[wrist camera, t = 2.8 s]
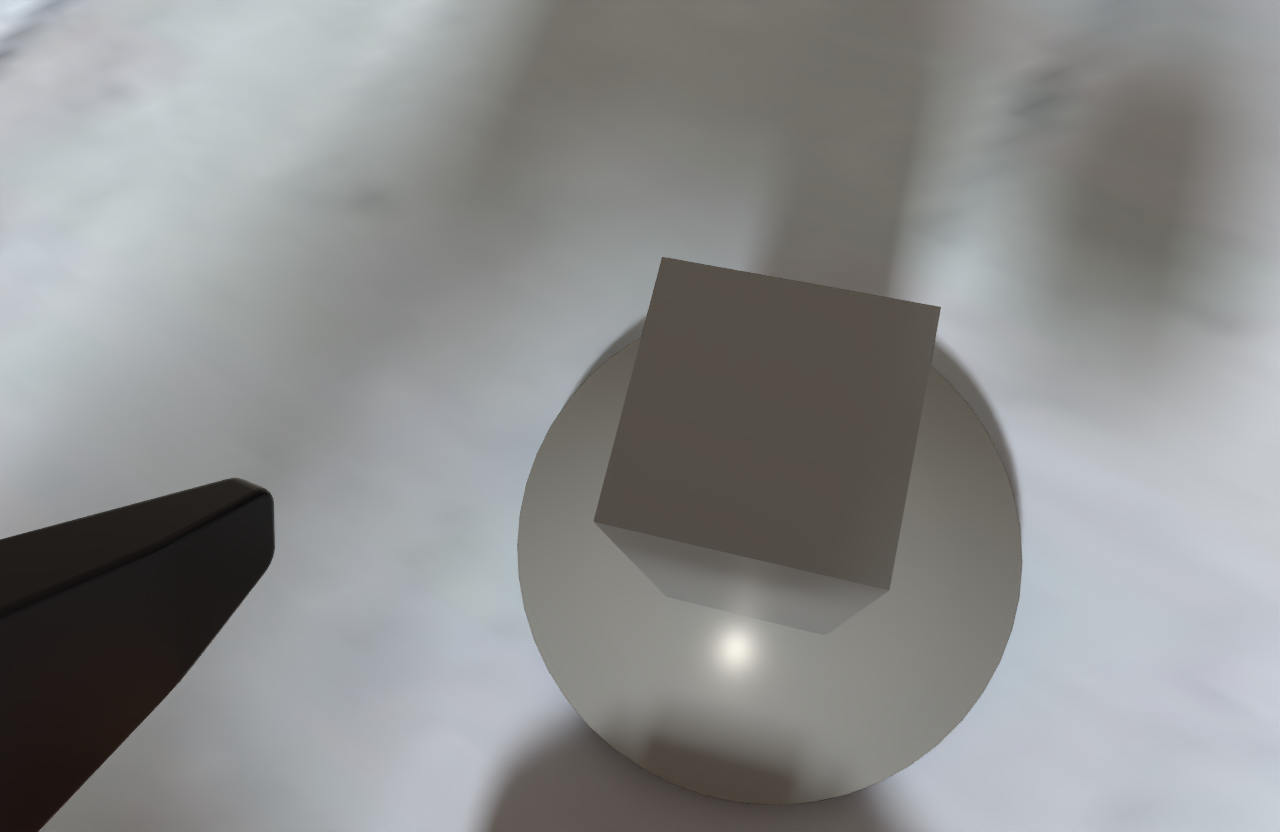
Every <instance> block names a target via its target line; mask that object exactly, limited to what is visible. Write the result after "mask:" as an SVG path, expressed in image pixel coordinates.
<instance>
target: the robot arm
mask: <svg viewBox="0 0 1280 832" xmlns="http://www.w3.org/2000/svg"><path fill="white" fill-rule="evenodd" d="M274 550H275V532H274V501H273V497H272V495H271V493H270V492H269V491H268V490H267V489H265V488H263V487H260V486H258V485H255V484H253V483H250V482H248V481H246V480H243V479H239V478H231V479H226V480H222V481H218V482H215V483H211V484H207V485H203V486H200V487H196V488H192V489H188V490H184V491H181V492H177V493H173V494H169V495H166V496H162V497H158V498H154V499H151V500H147V501H143V502H139V503H136V504H132V505H128V506H124V507H121V508H117V509H113V510H109V511H106V512H102V513H98V514H94V515H91V516H87V517H83V518H79V519H76V520H72V521H68V522H64V523H61V524H57V525H53V526H49V527H46V528H42V529H38V530H34V531H31V532H27V533H23V534H19V535H16V536H12V537H8V538H4V539H1V540H0V832H38V831H39V830H40V829H41V828H42V827H43V826H44V825H45V824H46V823H47V822H48V821H49V820H50V819H51V818H52V817H53V815H54V814H55V813H56V812H57V811H58V810H59V809H60V808H61V807H62V806H63V805H64V804H65V803H66V802H67V801H68V800H69V799H70V798H71V796H72V795H73V794H74V793H75V792H76V791H77V790H78V789H79V788H80V787H81V786H82V785H83V784H84V783H85V782H86V781H87V780H88V779H89V777H90V776H91V775H92V774H93V773H94V772H95V771H96V770H97V769H98V768H99V767H100V766H101V765H102V764H103V763H104V762H105V761H106V760H107V758H108V757H109V756H110V755H111V754H112V753H113V752H114V751H115V750H116V749H117V748H118V747H119V746H120V745H121V744H122V743H123V742H124V741H125V739H126V738H127V737H128V736H129V735H130V734H131V733H132V732H133V731H134V730H135V729H136V728H137V727H138V726H139V725H140V724H141V723H142V722H143V721H144V719H145V718H146V717H147V716H148V715H149V714H150V713H151V712H152V711H153V710H154V709H155V708H156V707H157V706H158V705H159V704H160V703H161V702H162V700H163V699H164V698H165V697H166V696H167V695H168V694H169V693H170V692H171V691H172V689H173V688H174V687H175V686H176V685H177V684H178V683H179V682H180V681H181V679H182V678H183V677H184V676H185V675H186V673H187V672H188V671H189V670H190V668H191V667H192V666H193V665H194V664H195V662H196V661H197V660H198V658H199V657H200V656H201V655H202V653H203V652H204V651H205V649H206V648H207V647H208V645H209V644H210V643H211V642H212V640H213V639H214V638H215V636H216V635H217V634H218V633H219V631H220V630H221V629H222V627H223V626H224V625H225V623H226V622H227V621H228V620H229V618H230V617H231V616H232V614H233V613H234V612H235V611H236V609H237V608H238V607H239V605H240V604H241V603H242V601H243V600H244V599H245V598H246V596H247V595H248V594H249V592H250V591H251V590H252V588H253V587H254V586H255V585H256V583H257V582H258V581H259V579H260V578H261V577H262V576H263V574H264V573H265V572H266V570H267V569H268V567H269V565H270V563H271V561H272V558H273V555H274Z"/></svg>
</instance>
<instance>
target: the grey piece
mask: <svg viewBox="0 0 1280 832" xmlns="http://www.w3.org/2000/svg"><path fill="white" fill-rule="evenodd" d="M940 309H941V307H937V306H932V305H926V304H921V303H915V302H909V301H904V300H898V299H893V298H887V297H882V296H876V295H871V294H865V293H860V292H854V291H848V290H843V289H837V288H832V287H826V286H821V285H815V284H810V283H804V282H798V281H793V280H787V279H782V278H776V277H771V276H765V275H760V274H754V273H749V272H743V271H737V270H732V269H726V268H721V267H715V266H710V265H704V264H699V263H693V262H687V261H682V260H676V259H671V258H665V257H662V260H661V264H660V267H659V271H658V275H657V279H656V283H655V287H654V290H653V294H652V298H651V302H650V306H649V310H648V313H647V317H646V321H645V325H644V329H643V333H642V337H641V338H639V339H637V340H636V341H634V342H632V343H631V344H630V345H628V346H627V347H625V348H624V349H622V350H621V351H620V352H618V353H617V354H615V355H614V356H612V357H611V358H610V359H608V360H607V361H606V362H605V363H604V364H603V365H602V366H601V367H600V368H598V369H597V370H596V371H595V372H594V373H593V374H592V375H591V376H590V377H588V378H587V379H586V381H585V382H584V383H583V384H582V385H581V386H580V387H579V389H578V390H577V391H576V392H575V393H574V394H573V396H572V397H571V398H570V399H569V400H568V401H567V403H566V404H565V406H564V407H563V409H562V410H561V412H560V413H559V415H558V416H557V418H556V419H555V421H554V422H553V424H552V425H551V427H550V429H549V431H548V433H547V435H546V437H545V439H544V441H543V443H542V445H541V447H540V449H539V451H538V453H537V455H536V458H535V461H534V463H533V466H532V469H531V472H530V475H529V478H528V481H527V483H526V488H525V493H524V497H523V502H522V507H521V511H520V519H519V532H518V544H517V549H518V570H519V581H520V587H521V592H522V598H523V604H524V609H525V613H526V616H527V619H528V622H529V625H530V628H531V632H532V635H533V638H534V641H535V643H536V645H537V647H538V650H539V652H540V654H541V656H542V658H543V660H544V662H545V665H546V667H547V669H548V671H549V673H550V674H551V676H552V677H553V679H554V680H555V682H556V684H557V685H558V687H559V688H560V690H561V691H562V693H563V695H564V696H565V698H566V699H567V700H568V702H569V703H570V704H571V705H572V706H573V708H574V709H575V710H576V711H577V712H578V714H579V715H580V716H581V717H582V718H583V720H584V721H585V722H586V723H587V724H588V725H589V726H590V727H591V728H592V729H593V730H594V731H595V732H596V733H597V734H598V735H600V736H601V737H602V738H603V739H604V740H605V741H606V742H607V743H608V744H609V745H610V746H612V747H613V748H614V749H615V750H617V751H618V752H620V753H621V754H622V755H624V756H625V757H627V758H628V759H630V760H631V761H632V762H634V763H635V764H637V765H638V766H640V767H641V768H643V769H645V770H647V771H649V772H651V773H652V774H654V775H656V776H658V777H660V778H662V779H664V780H666V781H668V782H670V783H672V784H674V785H677V786H680V787H683V788H686V789H689V790H691V791H694V792H697V793H700V794H703V795H706V796H710V797H715V798H720V799H725V800H730V801H734V802H739V803H752V804H767V805H783V804H797V803H810V802H815V801H820V800H825V799H829V798H834V797H838V796H843V795H847V794H850V793H852V792H855V791H858V790H860V789H863V788H866V787H868V786H871V785H874V784H876V783H879V782H881V781H883V780H885V779H886V778H888V777H890V776H892V775H894V774H896V773H897V772H899V771H901V770H903V769H905V768H907V767H908V766H910V765H911V764H913V763H914V762H915V761H917V760H918V759H919V758H921V757H922V756H923V755H925V754H926V753H928V752H929V751H930V750H932V749H933V748H934V747H936V746H937V745H938V744H939V743H940V742H941V741H942V740H943V739H944V738H945V737H946V736H947V735H948V734H949V733H950V732H951V731H952V730H953V729H954V728H955V727H956V726H957V725H958V724H959V723H960V722H961V721H962V720H963V719H964V718H965V716H966V715H967V714H968V712H969V711H970V710H971V708H972V707H973V706H974V704H975V703H976V702H977V700H978V699H979V698H980V696H981V695H982V694H983V692H984V690H985V689H986V687H987V685H988V683H989V681H990V679H991V678H992V676H993V674H994V672H995V670H996V668H997V667H998V665H999V663H1000V661H1001V658H1002V655H1003V653H1004V650H1005V647H1006V645H1007V642H1008V639H1009V637H1010V634H1011V631H1012V628H1013V624H1014V619H1015V615H1016V610H1017V606H1018V601H1019V596H1020V585H1021V572H1022V549H1021V532H1020V524H1019V519H1018V514H1017V509H1016V504H1015V499H1014V494H1013V491H1012V488H1011V486H1010V483H1009V480H1008V477H1007V474H1006V471H1005V468H1004V465H1003V463H1002V460H1001V458H1000V456H999V454H998V452H997V450H996V448H995V446H994V444H993V442H992V440H991V438H990V436H989V434H988V433H987V431H986V430H985V428H984V427H983V425H982V424H981V422H980V421H979V419H978V417H977V416H976V414H975V413H974V411H973V410H972V408H971V407H970V406H969V405H968V403H967V402H966V401H965V400H964V399H963V398H962V397H961V395H960V394H959V393H958V392H957V391H956V390H955V388H954V387H953V386H952V385H951V384H950V383H949V382H948V381H947V380H946V379H945V378H944V377H943V376H942V375H941V374H939V373H938V372H937V371H936V370H935V369H934V368H933V367H932V366H931V365H930V364H931V359H932V353H933V348H934V342H935V337H936V331H937V326H938V320H939V315H940Z"/></svg>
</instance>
